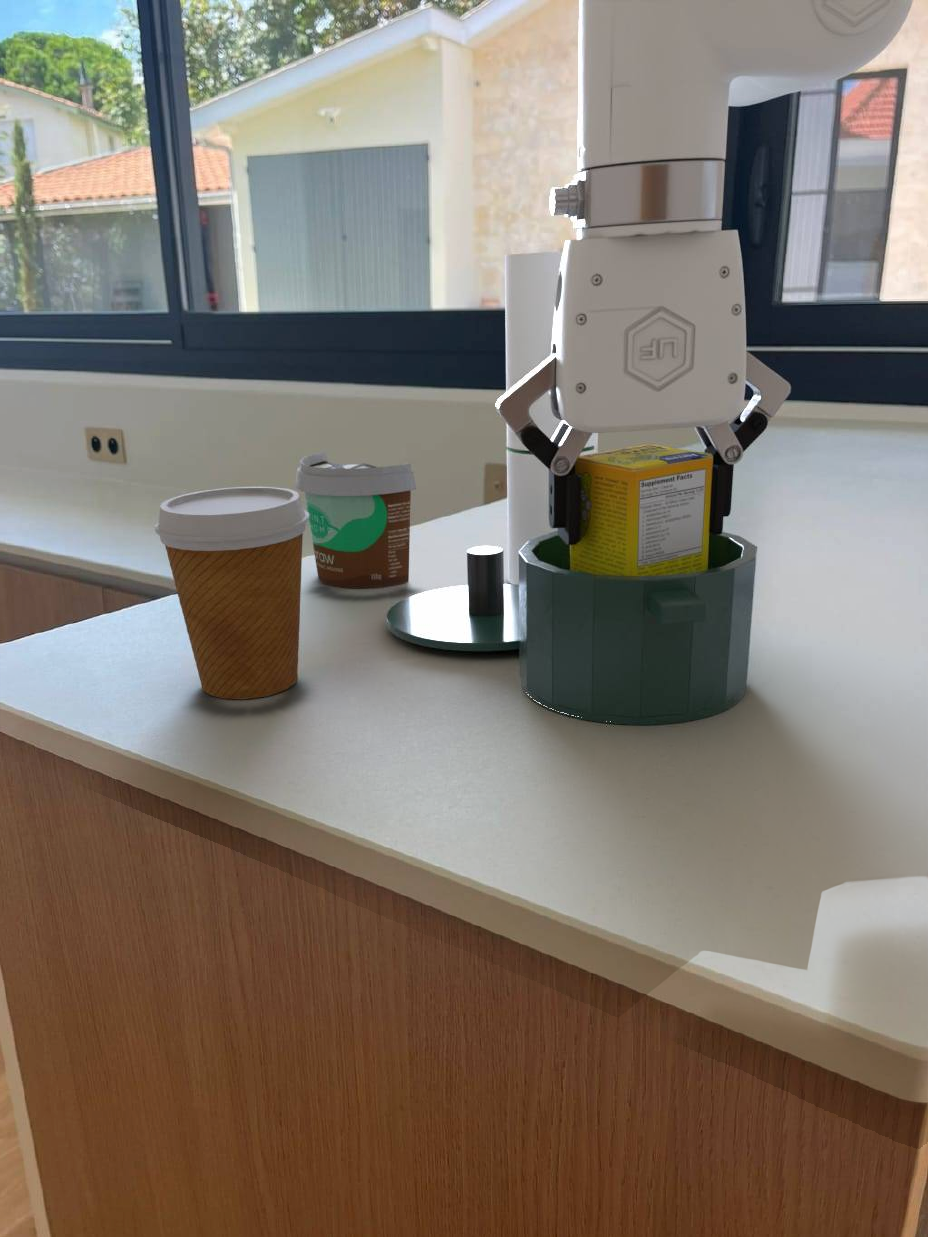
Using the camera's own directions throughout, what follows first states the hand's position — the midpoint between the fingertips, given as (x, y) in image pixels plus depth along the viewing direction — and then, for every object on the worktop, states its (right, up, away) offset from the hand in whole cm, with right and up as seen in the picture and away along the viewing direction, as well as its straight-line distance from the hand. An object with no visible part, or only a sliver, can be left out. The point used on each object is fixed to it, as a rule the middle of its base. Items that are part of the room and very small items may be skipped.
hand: (638, 533), depth 65 cm
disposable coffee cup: (-24, -9, +7) cm, 26 cm away
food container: (-18, +1, +30) cm, 35 cm away
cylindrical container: (-1, +1, +27) cm, 27 cm away
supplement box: (0, -6, +2) cm, 7 cm away
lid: (-8, -4, +15) cm, 18 cm away
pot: (0, -9, +4) cm, 9 cm away
